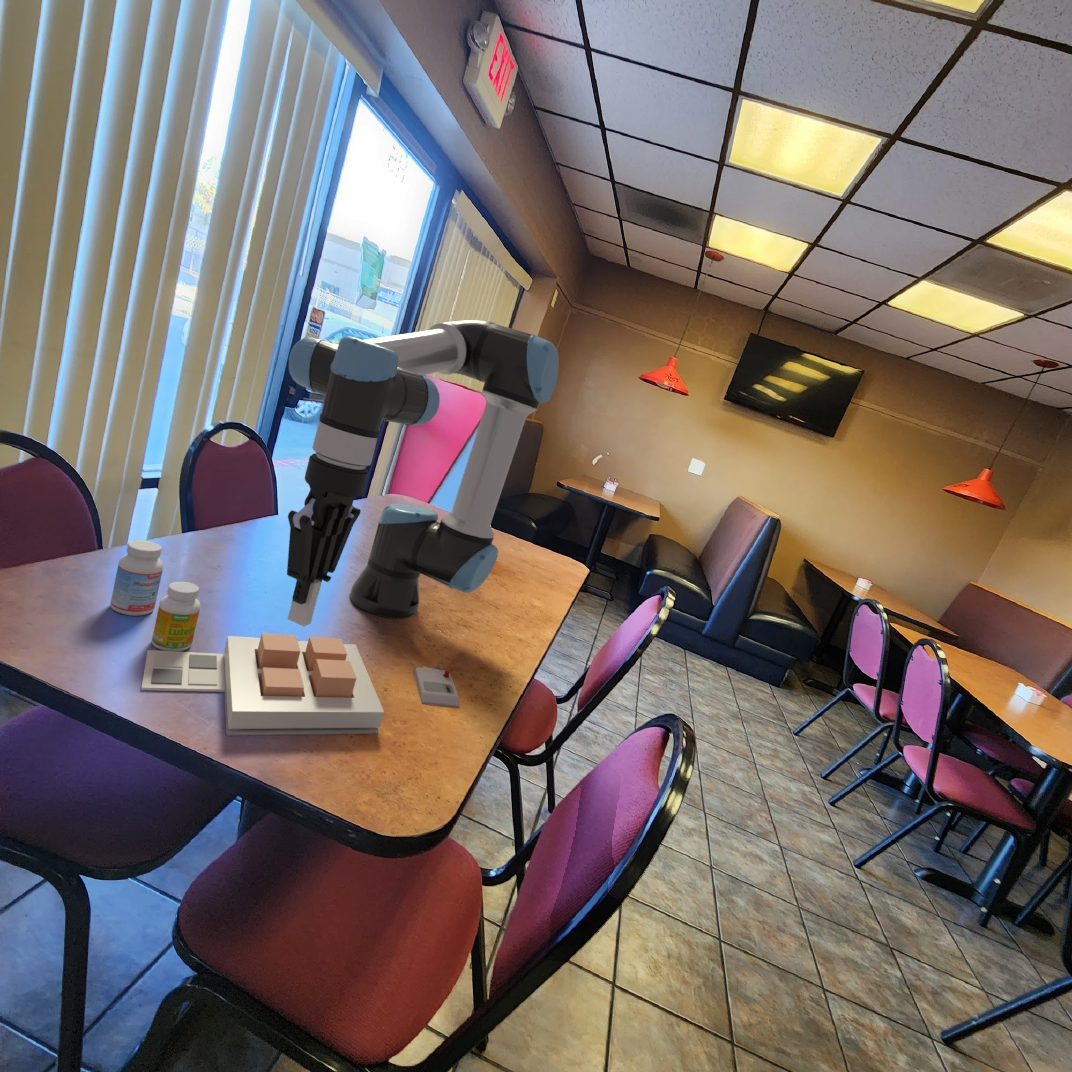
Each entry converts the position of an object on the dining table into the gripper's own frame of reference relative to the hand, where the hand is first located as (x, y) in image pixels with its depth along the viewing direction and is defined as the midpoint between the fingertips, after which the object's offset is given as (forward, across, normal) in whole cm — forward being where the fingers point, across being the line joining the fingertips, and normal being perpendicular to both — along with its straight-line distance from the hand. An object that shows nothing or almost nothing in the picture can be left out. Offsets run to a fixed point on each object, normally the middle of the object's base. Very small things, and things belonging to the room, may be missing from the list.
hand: (299, 621), depth 81 cm
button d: (+11, -10, 0) cm, 14 cm away
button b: (+11, -5, -5) cm, 13 cm away
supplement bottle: (+14, -2, -21) cm, 25 cm away
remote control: (+15, -24, +14) cm, 32 cm away
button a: (+12, 0, 0) cm, 12 cm away
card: (+14, +2, -14) cm, 20 cm away
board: (+14, -5, 0) cm, 14 cm away
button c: (+11, -5, +5) cm, 12 cm away
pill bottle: (+14, -5, -33) cm, 36 cm away
